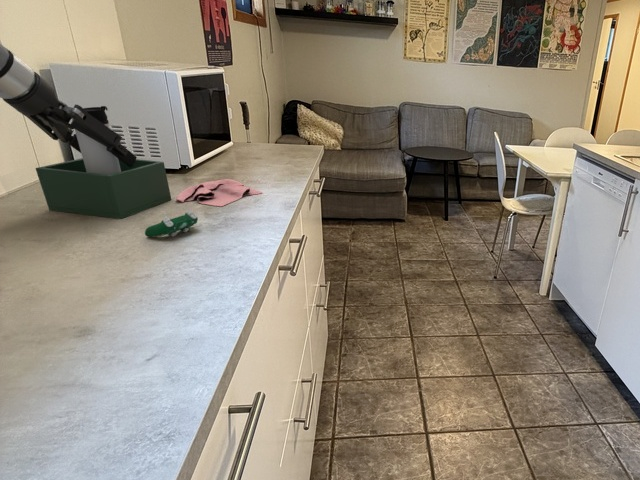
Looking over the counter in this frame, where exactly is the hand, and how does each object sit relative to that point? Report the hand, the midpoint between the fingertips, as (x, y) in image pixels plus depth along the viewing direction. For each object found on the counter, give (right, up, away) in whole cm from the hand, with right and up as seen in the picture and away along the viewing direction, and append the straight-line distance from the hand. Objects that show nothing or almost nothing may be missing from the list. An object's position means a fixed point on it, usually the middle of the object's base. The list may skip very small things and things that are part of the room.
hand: (115, 159), depth 106 cm
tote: (-1, -10, +2) cm, 10 cm away
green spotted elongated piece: (+20, -19, -12) cm, 30 cm away
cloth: (+16, -5, +14) cm, 22 cm away
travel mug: (-1, -9, +1) cm, 9 cm away
